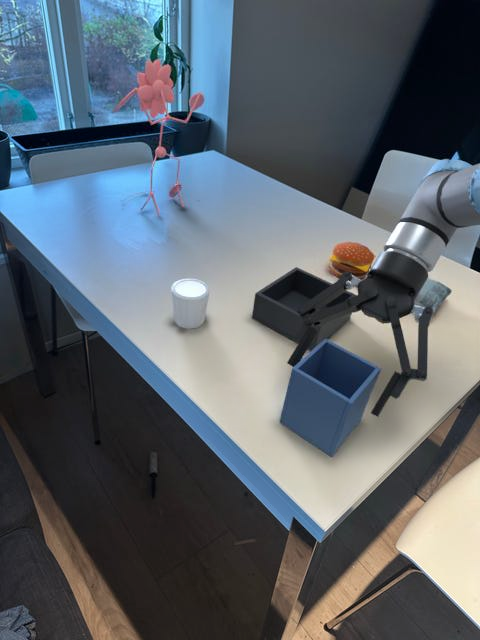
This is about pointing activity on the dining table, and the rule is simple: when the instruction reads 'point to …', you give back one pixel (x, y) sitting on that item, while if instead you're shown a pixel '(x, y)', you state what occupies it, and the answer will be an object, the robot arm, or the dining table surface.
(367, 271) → the hamburger
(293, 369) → the blue bin
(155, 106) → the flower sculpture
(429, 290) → the packaged food
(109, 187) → the dining table surface
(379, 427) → the dining table surface
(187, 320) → the white cup
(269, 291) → the charcoal bin
